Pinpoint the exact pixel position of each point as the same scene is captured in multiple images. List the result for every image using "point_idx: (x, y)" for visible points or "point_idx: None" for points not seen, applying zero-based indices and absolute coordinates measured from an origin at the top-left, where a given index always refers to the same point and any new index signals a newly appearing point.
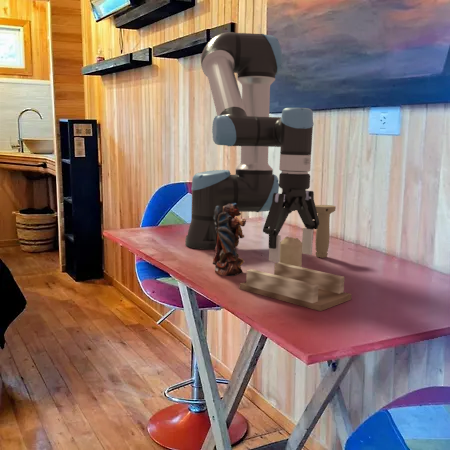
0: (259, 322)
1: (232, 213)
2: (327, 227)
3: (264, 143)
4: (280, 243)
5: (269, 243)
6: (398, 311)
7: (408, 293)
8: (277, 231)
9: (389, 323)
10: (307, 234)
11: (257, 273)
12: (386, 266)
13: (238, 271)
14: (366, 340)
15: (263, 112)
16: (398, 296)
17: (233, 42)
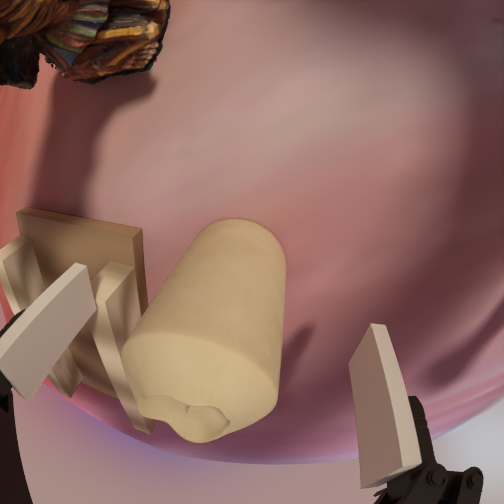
0: (5, 315)
1: None
2: None
3: None
4: (130, 337)
5: (9, 327)
6: (174, 438)
7: (276, 449)
8: (1, 404)
9: (126, 425)
10: (374, 447)
11: (4, 289)
12: (475, 389)
13: (112, 73)
14: (74, 403)
15: None
16: (247, 444)
17: None
